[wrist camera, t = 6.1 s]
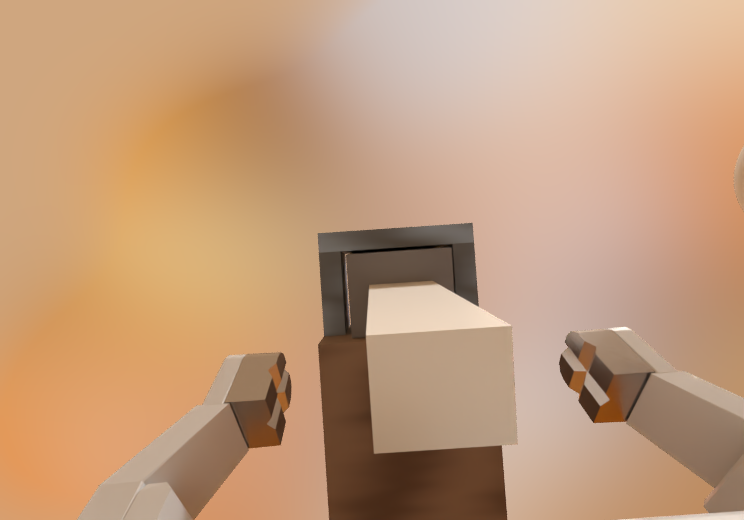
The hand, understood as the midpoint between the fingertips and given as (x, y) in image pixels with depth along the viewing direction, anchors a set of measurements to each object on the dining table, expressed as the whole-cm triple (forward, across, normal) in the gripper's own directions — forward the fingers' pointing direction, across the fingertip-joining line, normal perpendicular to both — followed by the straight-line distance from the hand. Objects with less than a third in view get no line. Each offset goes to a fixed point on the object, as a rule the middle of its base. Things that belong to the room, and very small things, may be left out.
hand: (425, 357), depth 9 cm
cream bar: (+3, 0, +2) cm, 4 cm away
